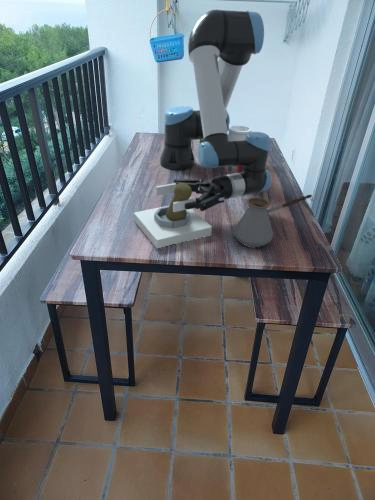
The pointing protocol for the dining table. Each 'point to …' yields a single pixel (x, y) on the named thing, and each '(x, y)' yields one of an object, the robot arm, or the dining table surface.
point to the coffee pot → (258, 222)
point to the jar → (238, 133)
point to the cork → (180, 194)
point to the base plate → (169, 233)
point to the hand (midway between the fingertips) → (164, 198)
